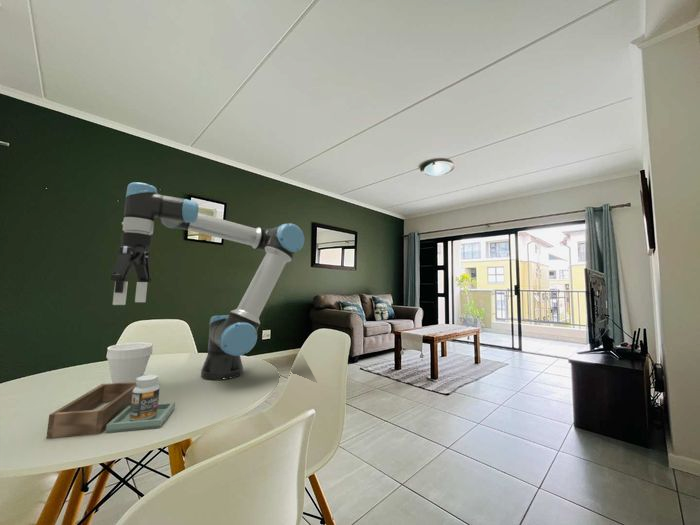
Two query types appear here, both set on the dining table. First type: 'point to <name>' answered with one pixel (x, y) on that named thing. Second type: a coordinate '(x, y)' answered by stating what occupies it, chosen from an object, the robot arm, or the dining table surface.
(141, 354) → the white flower pot
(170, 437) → the dining table surface
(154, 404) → the pill bottle
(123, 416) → the tray
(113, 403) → the caddy
